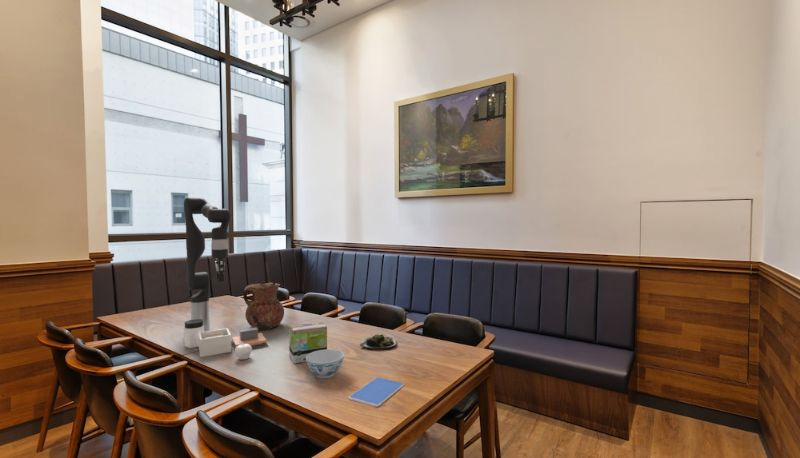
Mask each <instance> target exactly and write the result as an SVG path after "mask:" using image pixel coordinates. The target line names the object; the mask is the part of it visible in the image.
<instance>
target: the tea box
mask: <svg viewBox="0 0 800 458" xmlns="http://www.w3.org/2000/svg"><path fill="white" fill-rule="evenodd" d="M288 329H289V331H288V334H289V336H288V341H289V342H288V343H289V346H288V349H289V350H288V352H289V353H288V356H289V358H290V359H291V360H290V361H291V362H292V363H293V364H294V365H295V364H298V363H303V362H306V356H307V355H308V354H310V353H312V352H314V351H318V350H326V349H328V326H326V325H325V323H324V322H323V321H316V322H315V321H314V322H307V323H299V324H298V323H297V324H290V325H289V328H288Z"/></svg>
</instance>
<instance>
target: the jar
mask: <svg viewBox="0 0 800 458" xmlns="http://www.w3.org/2000/svg"><path fill="white" fill-rule="evenodd" d="M198 332H204V325H203V320H201V319H194V320H191V319H189V320H186V321H184V327H183V347H185V348H189V349H191V348H197V347H198V348H199V338H198Z"/></svg>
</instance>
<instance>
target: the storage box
mask: <svg viewBox="0 0 800 458" xmlns="http://www.w3.org/2000/svg"><path fill="white" fill-rule="evenodd" d="M198 338H199V347H198V351H199V357H200V358H204V357H209V356H214V355H215V356H216V355H220V354H226V353H231V352H232V344H231V341H232V334H231V331H230V330H229V328H228V327H227V328H220V329H219V328H218V329H214V330H213V329H212V330H209V331H205V332H198Z"/></svg>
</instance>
